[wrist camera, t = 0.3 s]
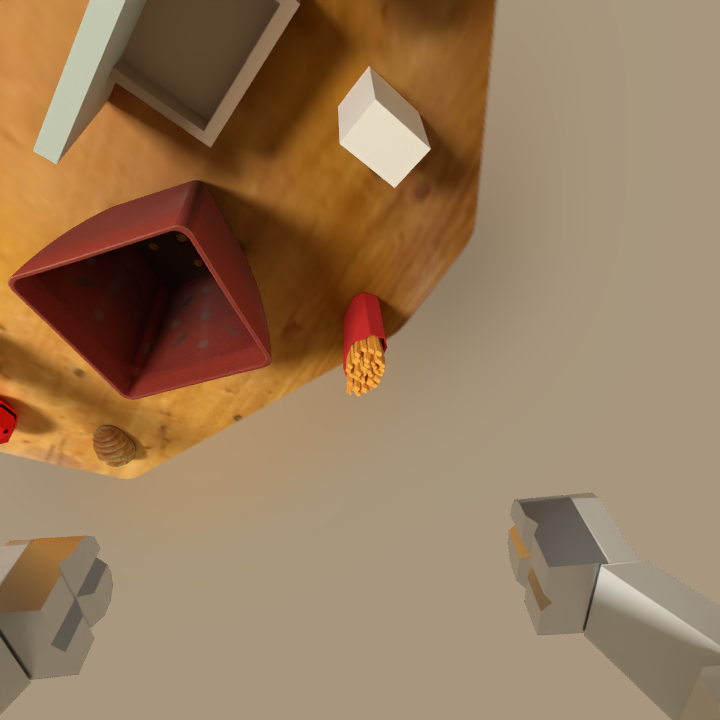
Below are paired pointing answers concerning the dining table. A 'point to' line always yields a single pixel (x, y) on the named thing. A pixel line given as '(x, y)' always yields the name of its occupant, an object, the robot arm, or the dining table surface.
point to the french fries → (363, 344)
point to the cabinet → (381, 128)
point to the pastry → (113, 446)
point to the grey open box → (163, 62)
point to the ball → (7, 422)
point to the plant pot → (152, 294)
